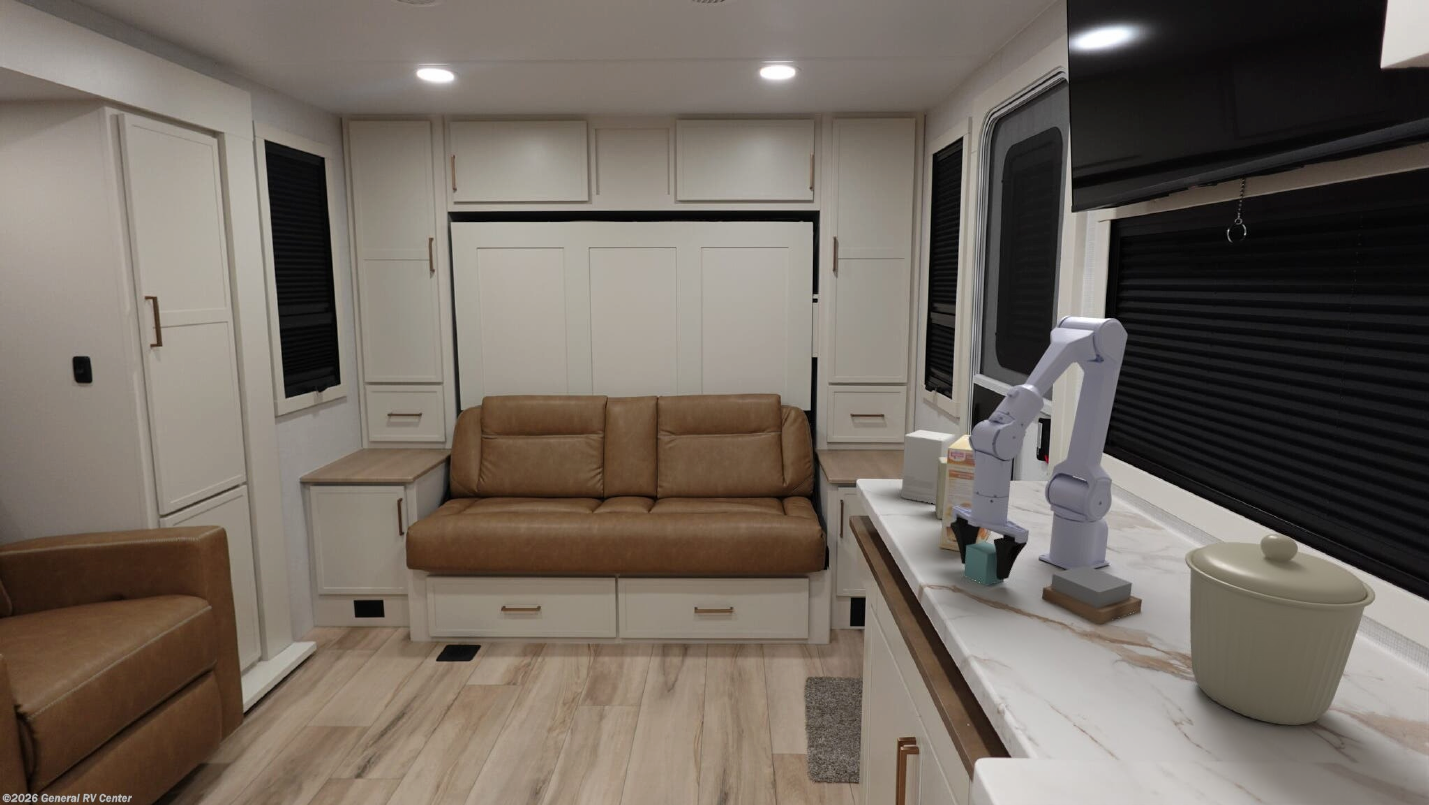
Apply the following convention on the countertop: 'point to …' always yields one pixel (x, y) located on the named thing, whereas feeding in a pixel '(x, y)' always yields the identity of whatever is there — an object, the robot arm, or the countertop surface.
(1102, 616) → the walnut slab
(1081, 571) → the gray square slab
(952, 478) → the coffeecake box
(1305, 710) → the canister
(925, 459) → the supplement box
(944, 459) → the skincare box
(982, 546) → the teal block
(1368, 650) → the countertop surface
